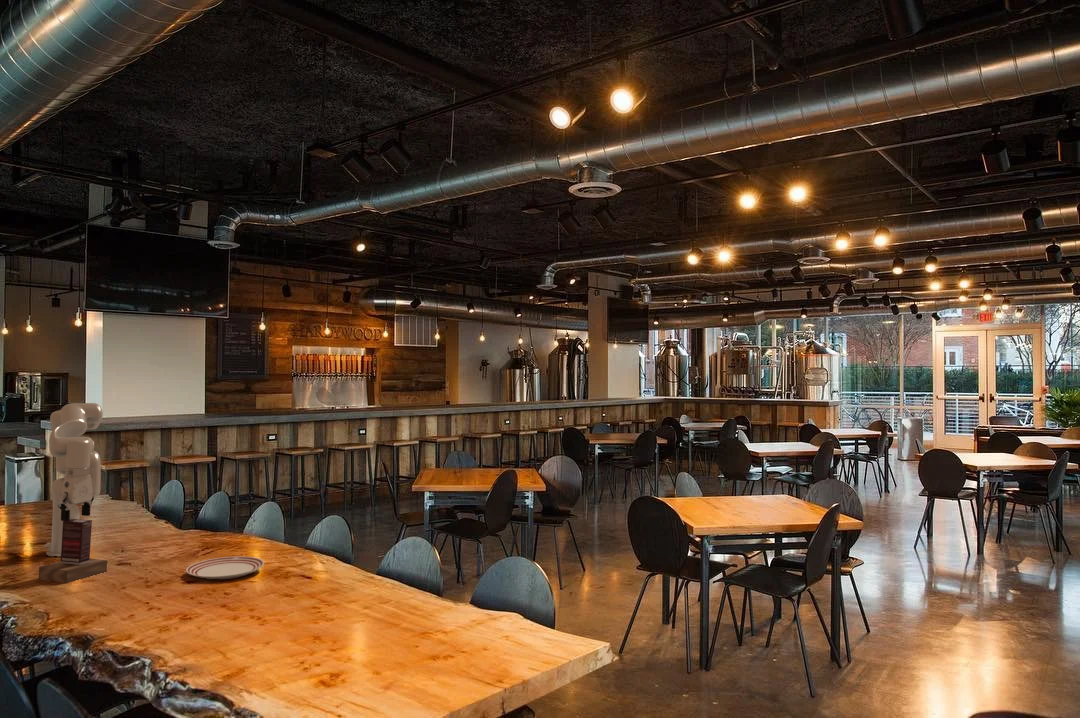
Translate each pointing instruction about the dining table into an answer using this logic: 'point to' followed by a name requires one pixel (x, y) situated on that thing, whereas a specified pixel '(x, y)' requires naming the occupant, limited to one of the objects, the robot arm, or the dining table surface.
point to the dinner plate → (225, 567)
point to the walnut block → (72, 571)
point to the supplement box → (76, 541)
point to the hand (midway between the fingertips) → (75, 518)
